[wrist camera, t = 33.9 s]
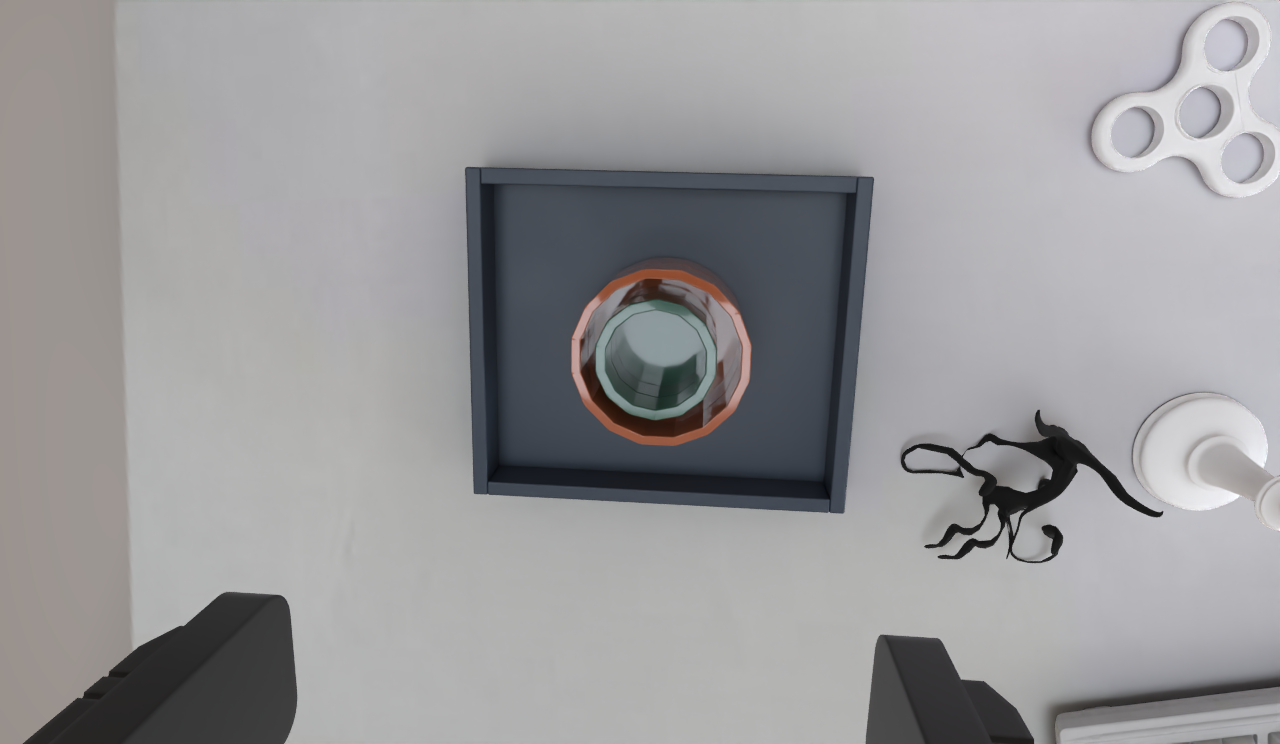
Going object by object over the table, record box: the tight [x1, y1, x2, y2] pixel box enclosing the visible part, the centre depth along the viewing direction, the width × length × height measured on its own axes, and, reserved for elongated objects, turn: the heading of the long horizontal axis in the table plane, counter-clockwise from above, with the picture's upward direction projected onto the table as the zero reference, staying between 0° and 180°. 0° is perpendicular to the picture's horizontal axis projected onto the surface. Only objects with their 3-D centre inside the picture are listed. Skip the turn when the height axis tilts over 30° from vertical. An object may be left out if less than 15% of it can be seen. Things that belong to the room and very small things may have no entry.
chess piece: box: [1133, 393, 1280, 531], centre depth 29 cm, size 5×5×10 cm
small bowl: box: [595, 286, 717, 420], centre depth 32 cm, size 4×4×4 cm
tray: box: [465, 167, 874, 513], centre depth 33 cm, size 15×13×2 cm
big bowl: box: [571, 257, 752, 446], centre depth 32 cm, size 6×6×4 cm
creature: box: [901, 410, 1163, 563], centre depth 33 cm, size 8×5×8 cm
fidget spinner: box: [1091, 2, 1280, 197], centre depth 30 cm, size 7×6×1 cm
